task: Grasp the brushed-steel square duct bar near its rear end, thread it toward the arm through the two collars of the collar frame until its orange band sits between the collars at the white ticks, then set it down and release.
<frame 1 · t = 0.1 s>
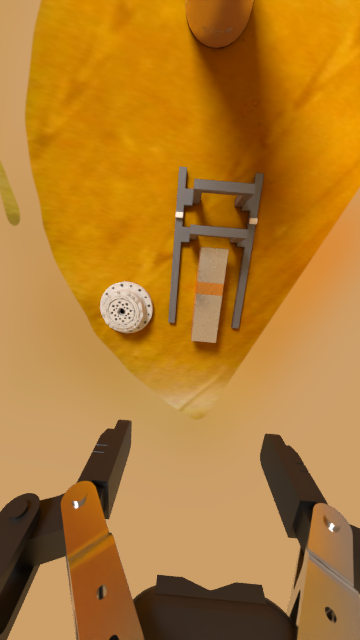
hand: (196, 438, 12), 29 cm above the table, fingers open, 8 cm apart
mechanical component: (128, 306, 40), on the table
collar frame: (211, 255, 37), on the table
duct bar: (206, 294, 39), on the table
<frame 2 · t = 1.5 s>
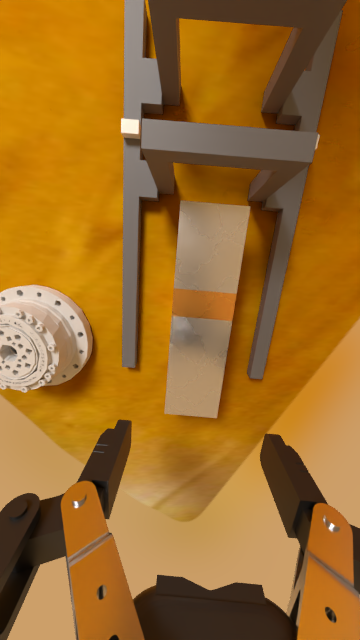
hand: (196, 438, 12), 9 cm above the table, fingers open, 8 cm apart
mechanical component: (46, 334, 21), on the table
collar frame: (207, 229, 17), on the table
duct bar: (198, 311, 19), on the table
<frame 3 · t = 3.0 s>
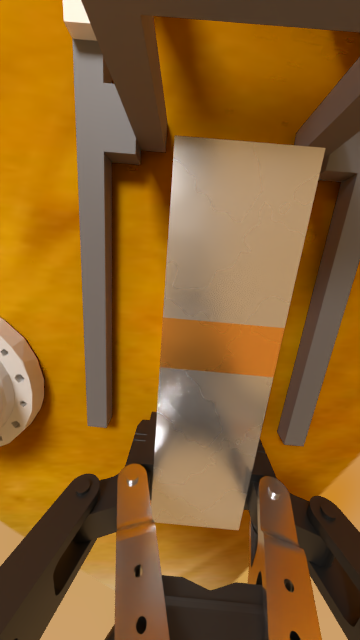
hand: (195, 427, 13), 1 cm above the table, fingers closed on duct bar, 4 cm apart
collar frame: (221, 212, 10), on the table
duct bar: (205, 342, 12), on the table, touching gripper
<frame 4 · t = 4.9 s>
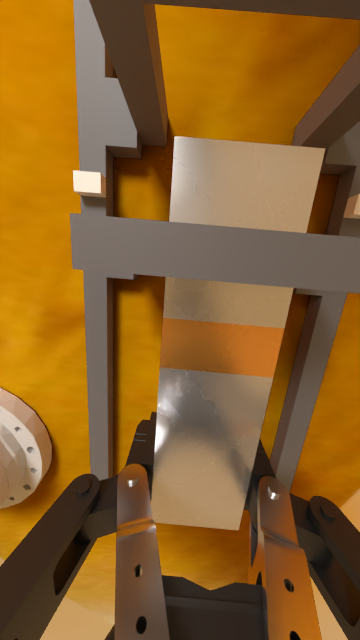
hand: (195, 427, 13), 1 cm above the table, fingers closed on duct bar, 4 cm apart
collar frame: (208, 315, 12), on the table
duct bar: (204, 342, 12), on the table, touching gripper
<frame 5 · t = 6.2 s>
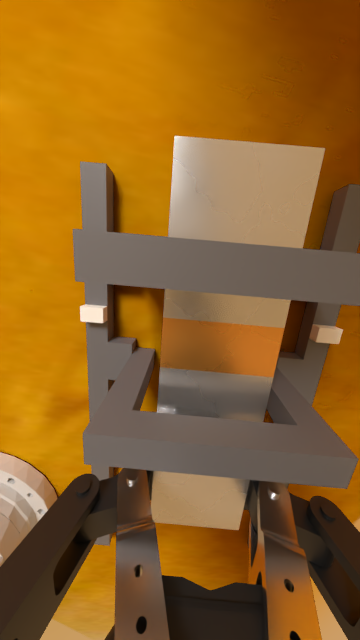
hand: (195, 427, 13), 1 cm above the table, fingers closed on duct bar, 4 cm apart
mechanical component: (3, 492, 17), on the table
collar frame: (196, 402, 14), on the table
duct bar: (204, 342, 12), on the table, touching gripper
when the fingers open (1 cm above the table, at t = 7.1 s): duct bar stays where it is, on the table.
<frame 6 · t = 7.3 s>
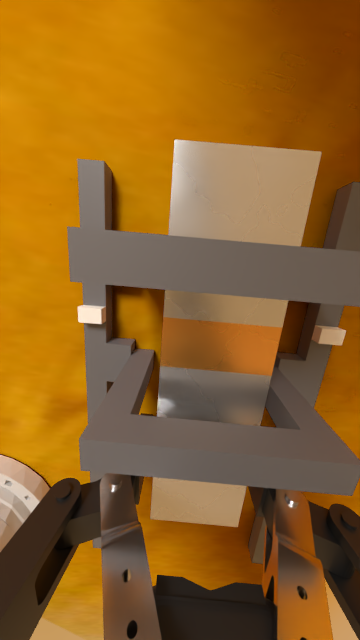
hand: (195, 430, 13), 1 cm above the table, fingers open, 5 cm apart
mechanical component: (1, 494, 17), on the table
collar frame: (196, 404, 14), on the table
duct bar: (204, 342, 12), on the table
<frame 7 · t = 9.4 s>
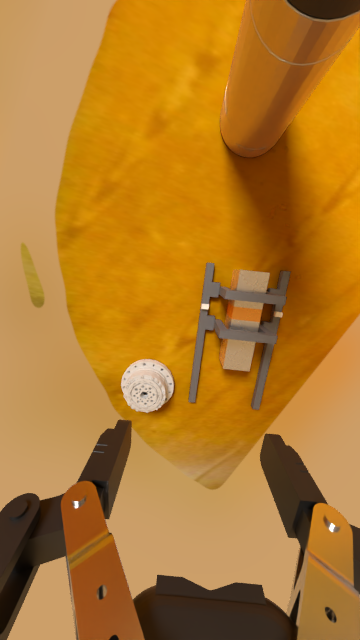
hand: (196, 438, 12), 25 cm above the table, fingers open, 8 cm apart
mechanical component: (148, 381, 40), on the table
collar frame: (233, 340, 37), on the table
duct bar: (238, 317, 36), on the table
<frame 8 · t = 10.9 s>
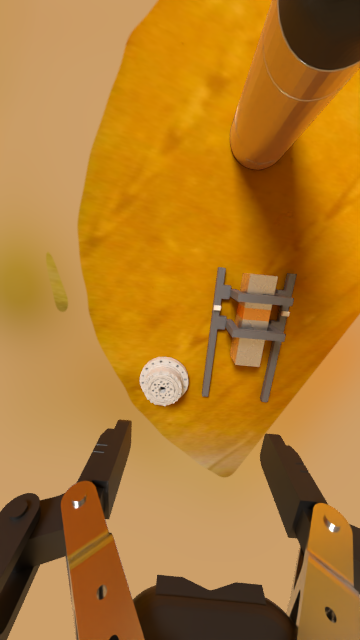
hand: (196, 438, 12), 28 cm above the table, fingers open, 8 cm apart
mechanical component: (164, 377, 43), on the table
collar frame: (243, 338, 40), on the table
duct bar: (247, 316, 39), on the table
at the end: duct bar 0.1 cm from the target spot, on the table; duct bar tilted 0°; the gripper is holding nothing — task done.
